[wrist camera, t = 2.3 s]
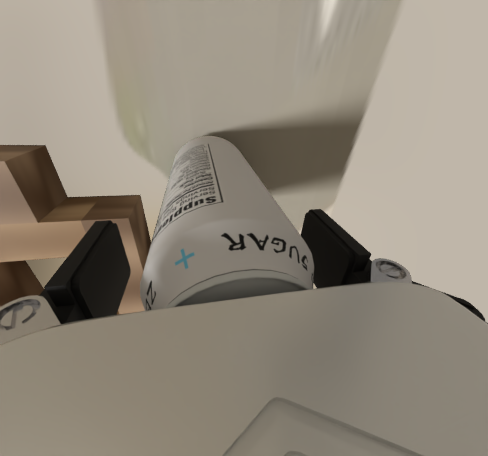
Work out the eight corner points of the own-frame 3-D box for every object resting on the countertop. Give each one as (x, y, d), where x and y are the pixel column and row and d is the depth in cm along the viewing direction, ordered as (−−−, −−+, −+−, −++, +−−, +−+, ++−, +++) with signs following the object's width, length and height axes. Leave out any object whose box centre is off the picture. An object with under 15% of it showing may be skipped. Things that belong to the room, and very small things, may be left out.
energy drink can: (216, 214, 21) (248, 396, 8) (158, 176, 18) (81, 372, 6) (258, 165, 19) (375, 308, 7) (202, 115, 16) (228, 205, 4)
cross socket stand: (-195, 143, 13) (-329, 162, 10) (183, 146, 17) (181, 160, 14) (5, 344, 25) (-24, 384, 21) (200, 318, 29) (201, 347, 26)
